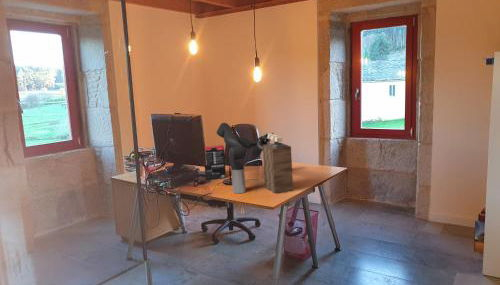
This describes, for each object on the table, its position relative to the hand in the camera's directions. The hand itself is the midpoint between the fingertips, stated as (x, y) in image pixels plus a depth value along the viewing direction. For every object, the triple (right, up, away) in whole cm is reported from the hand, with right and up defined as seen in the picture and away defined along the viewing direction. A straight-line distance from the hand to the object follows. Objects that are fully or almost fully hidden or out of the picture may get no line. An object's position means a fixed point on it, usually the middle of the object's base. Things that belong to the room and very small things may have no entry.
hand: (270, 134), depth 280 cm
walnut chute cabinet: (+6, -40, -3) cm, 40 cm away
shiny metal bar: (+2, -3, -4) cm, 5 cm away
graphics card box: (-43, -36, +37) cm, 67 cm away
